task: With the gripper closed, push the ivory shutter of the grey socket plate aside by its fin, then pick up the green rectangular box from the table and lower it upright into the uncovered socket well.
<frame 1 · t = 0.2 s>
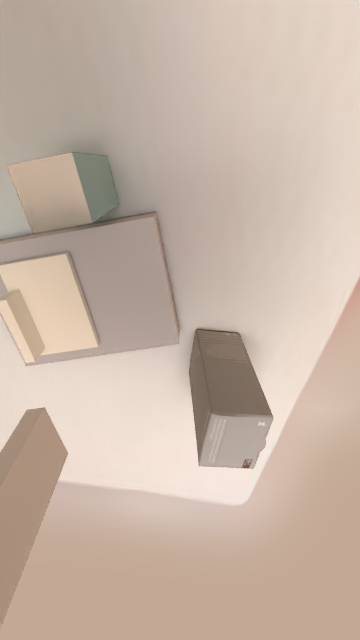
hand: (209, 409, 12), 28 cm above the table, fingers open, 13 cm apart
socket plate: (89, 289, 40), on the table
skincare box: (215, 354, 45), on the table
green rectangular box: (91, 185, 34), on the table
shutter: (47, 313, 35), point 6 cm above the table, slide at 0.0 cm
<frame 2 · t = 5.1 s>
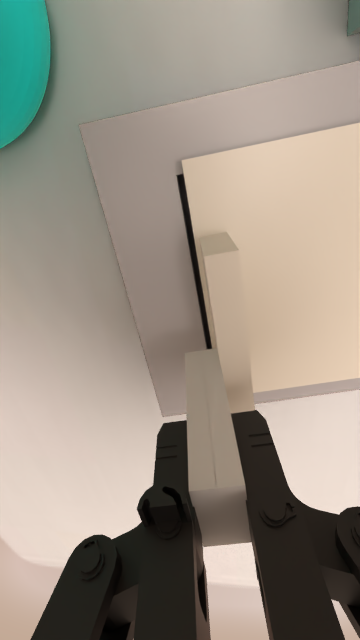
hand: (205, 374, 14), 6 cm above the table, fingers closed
socket plate: (310, 250, 18), on the table
shutter: (297, 295, 13), point 6 cm above the table, slide at 0.8 cm, touching gripper
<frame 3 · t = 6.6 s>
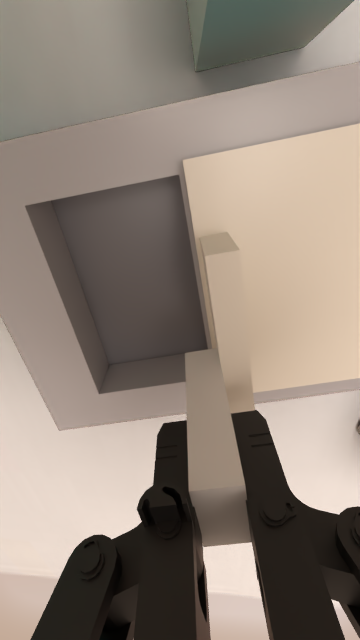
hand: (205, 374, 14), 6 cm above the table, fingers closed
socket plate: (195, 270, 19), on the table
shutter: (298, 295, 13), point 6 cm above the table, slide at 7.7 cm, touching gripper
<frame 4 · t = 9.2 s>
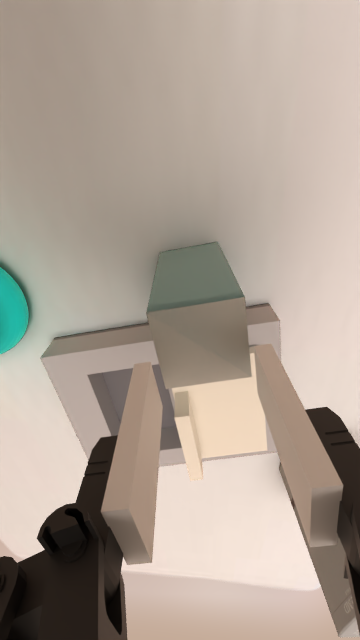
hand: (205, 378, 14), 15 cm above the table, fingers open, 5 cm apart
socket plate: (174, 385, 33), on the table
skincare box: (312, 448, 38), on the table
green rectangular box: (193, 274, 27), on the table
shutter: (222, 419, 27), point 6 cm above the table, slide at 8.0 cm
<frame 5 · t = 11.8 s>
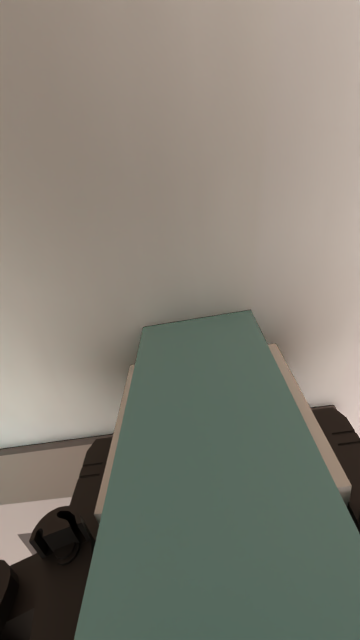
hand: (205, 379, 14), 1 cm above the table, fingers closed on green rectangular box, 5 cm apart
socket plate: (170, 512, 21), on the table
green rectangular box: (203, 362, 15), on the table, touching gripper
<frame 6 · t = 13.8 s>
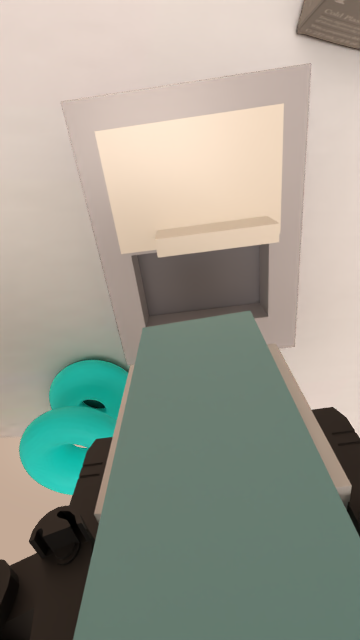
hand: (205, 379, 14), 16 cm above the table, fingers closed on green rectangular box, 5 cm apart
socket plate: (196, 237, 27), on the table
donuts: (99, 389, 35), on the table
green rectangular box: (203, 363, 15), point 15 cm above the table, touching gripper
shutter: (195, 187, 20), point 6 cm above the table, slide at 8.0 cm
when the fingers open (3 cm above the table, at t = 16.2 s): green rectangular box drops 1 cm, resting on socket plate.
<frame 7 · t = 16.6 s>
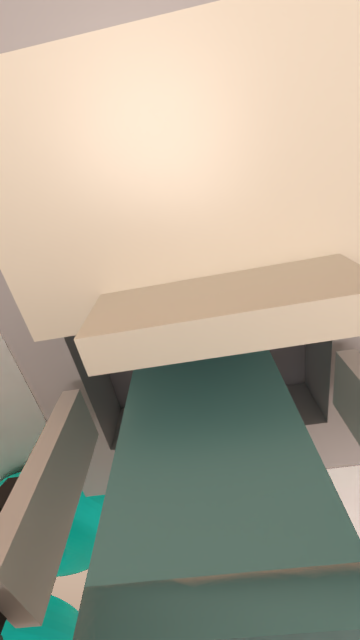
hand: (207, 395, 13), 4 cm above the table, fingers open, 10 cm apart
socket plate: (191, 283, 15), on the table
donuts: (60, 499, 24), on the table
green rectangular box: (201, 347, 16), resting on socket plate
shutter: (171, 201, 8), point 6 cm above the table, slide at 8.0 cm
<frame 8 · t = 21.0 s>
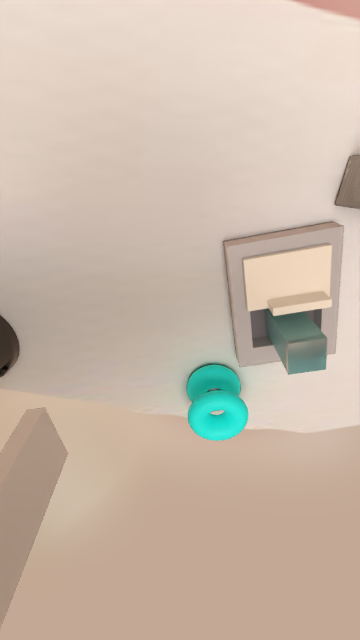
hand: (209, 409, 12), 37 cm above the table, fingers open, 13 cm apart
socket plate: (279, 295, 50), on the table
donuts: (212, 382, 58), on the table
green rectangular box: (280, 316, 51), resting on socket plate
shutter: (290, 282, 42), point 6 cm above the table, slide at 8.0 cm
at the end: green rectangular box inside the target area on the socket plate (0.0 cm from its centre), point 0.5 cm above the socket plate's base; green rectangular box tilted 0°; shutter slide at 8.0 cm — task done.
